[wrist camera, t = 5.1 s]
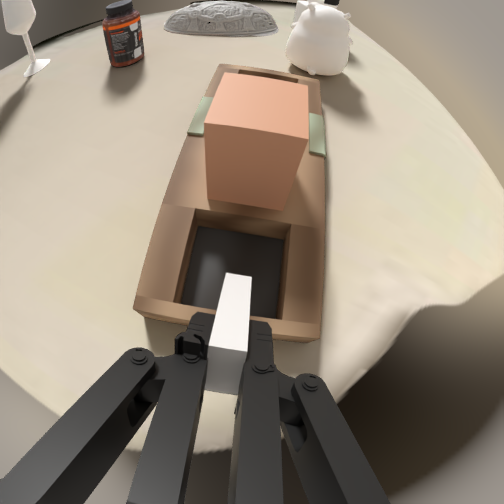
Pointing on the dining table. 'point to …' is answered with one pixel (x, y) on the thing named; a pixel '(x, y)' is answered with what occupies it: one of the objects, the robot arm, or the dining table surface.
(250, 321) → the robot arm
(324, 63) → the figurine
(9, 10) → the champagne flute
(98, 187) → the dining table surface
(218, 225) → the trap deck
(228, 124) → the block
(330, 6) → the medicine bottle
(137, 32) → the supplement bottle
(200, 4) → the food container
